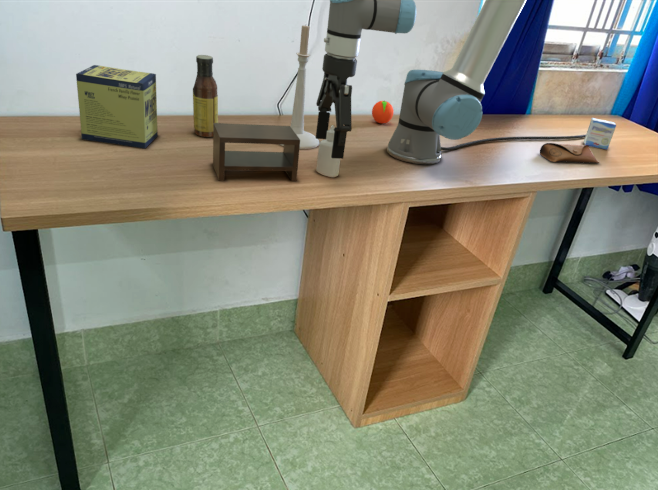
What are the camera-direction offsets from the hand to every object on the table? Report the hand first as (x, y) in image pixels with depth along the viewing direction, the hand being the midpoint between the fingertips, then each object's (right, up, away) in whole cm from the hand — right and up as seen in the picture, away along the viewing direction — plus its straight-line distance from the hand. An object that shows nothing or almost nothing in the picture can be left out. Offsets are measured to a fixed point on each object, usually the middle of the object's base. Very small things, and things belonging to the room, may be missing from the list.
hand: (328, 148), depth 148 cm
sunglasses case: (+73, +7, +45) cm, 86 cm away
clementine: (+14, +20, +49) cm, 54 cm away
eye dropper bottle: (-1, -6, +4) cm, 7 cm away
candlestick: (-10, +7, +22) cm, 25 cm away
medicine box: (+88, +16, +63) cm, 109 cm away
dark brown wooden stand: (-17, -7, -3) cm, 19 cm away
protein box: (-52, +3, +4) cm, 52 cm away
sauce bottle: (-34, +7, +16) cm, 38 cm away
